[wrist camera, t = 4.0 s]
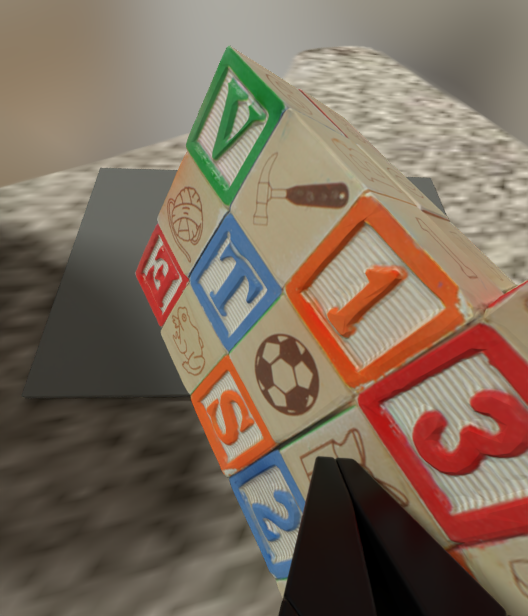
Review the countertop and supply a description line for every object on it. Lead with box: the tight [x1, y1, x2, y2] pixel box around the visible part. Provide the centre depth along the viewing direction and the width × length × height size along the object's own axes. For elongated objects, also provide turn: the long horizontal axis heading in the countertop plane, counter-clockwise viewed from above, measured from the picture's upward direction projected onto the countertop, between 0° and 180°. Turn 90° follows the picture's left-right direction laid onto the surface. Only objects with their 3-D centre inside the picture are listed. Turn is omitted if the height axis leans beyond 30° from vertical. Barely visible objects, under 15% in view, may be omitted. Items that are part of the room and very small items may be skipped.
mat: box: [22, 168, 446, 398], centre depth 20 cm, size 16×24×1 cm, turn 92°
